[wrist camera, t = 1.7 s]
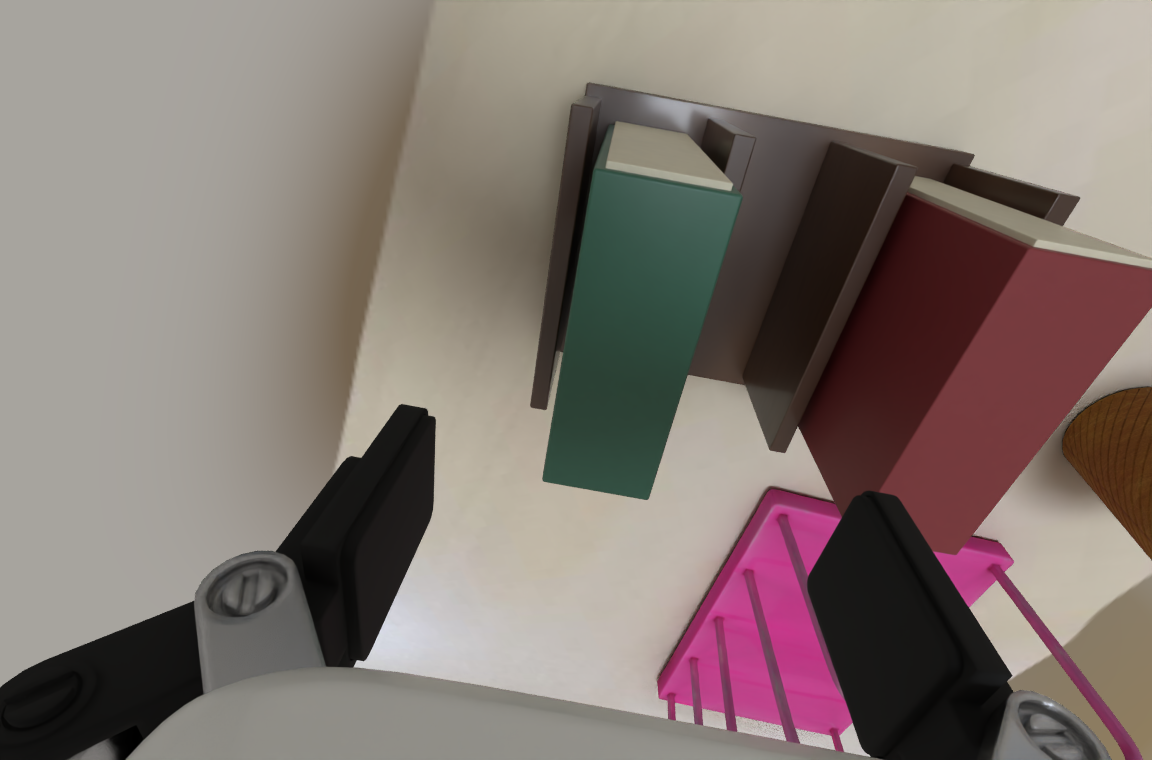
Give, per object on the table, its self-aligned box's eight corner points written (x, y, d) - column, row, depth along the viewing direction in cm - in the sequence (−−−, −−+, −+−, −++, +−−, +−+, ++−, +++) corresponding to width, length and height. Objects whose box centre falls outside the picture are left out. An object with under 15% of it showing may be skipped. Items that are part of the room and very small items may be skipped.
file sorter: (655, 678, 49) (666, 909, 36) (768, 484, 36) (852, 729, 23) (831, 717, 50) (907, 957, 36) (1002, 541, 37) (1216, 810, 24)
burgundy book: (769, 366, 31) (850, 537, 19) (851, 163, 25) (1034, 240, 14) (836, 378, 31) (956, 556, 19) (933, 178, 25) (1184, 268, 14)
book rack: (549, 342, 32) (528, 416, 25) (588, 82, 25) (573, 86, 18) (841, 394, 32) (899, 483, 25) (963, 151, 25) (1091, 182, 18)
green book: (573, 331, 30) (541, 482, 19) (609, 118, 25) (594, 159, 14) (640, 343, 30) (648, 501, 19) (692, 134, 25) (747, 187, 14)
